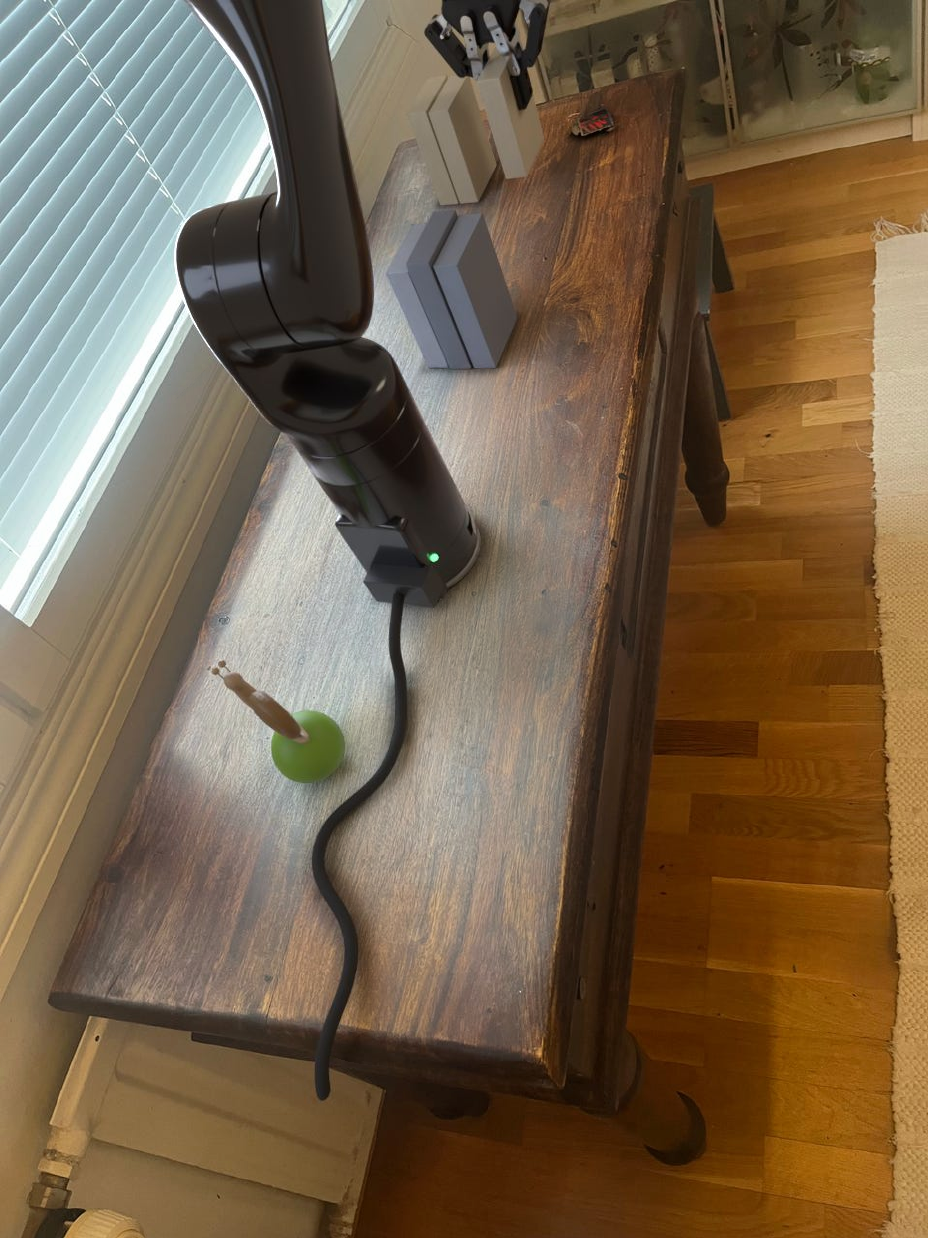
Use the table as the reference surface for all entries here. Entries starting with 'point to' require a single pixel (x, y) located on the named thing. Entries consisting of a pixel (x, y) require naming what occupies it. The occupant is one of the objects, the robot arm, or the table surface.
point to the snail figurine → (293, 733)
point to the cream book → (509, 119)
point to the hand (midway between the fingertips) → (511, 106)
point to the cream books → (452, 139)
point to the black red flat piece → (593, 122)
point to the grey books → (453, 291)
